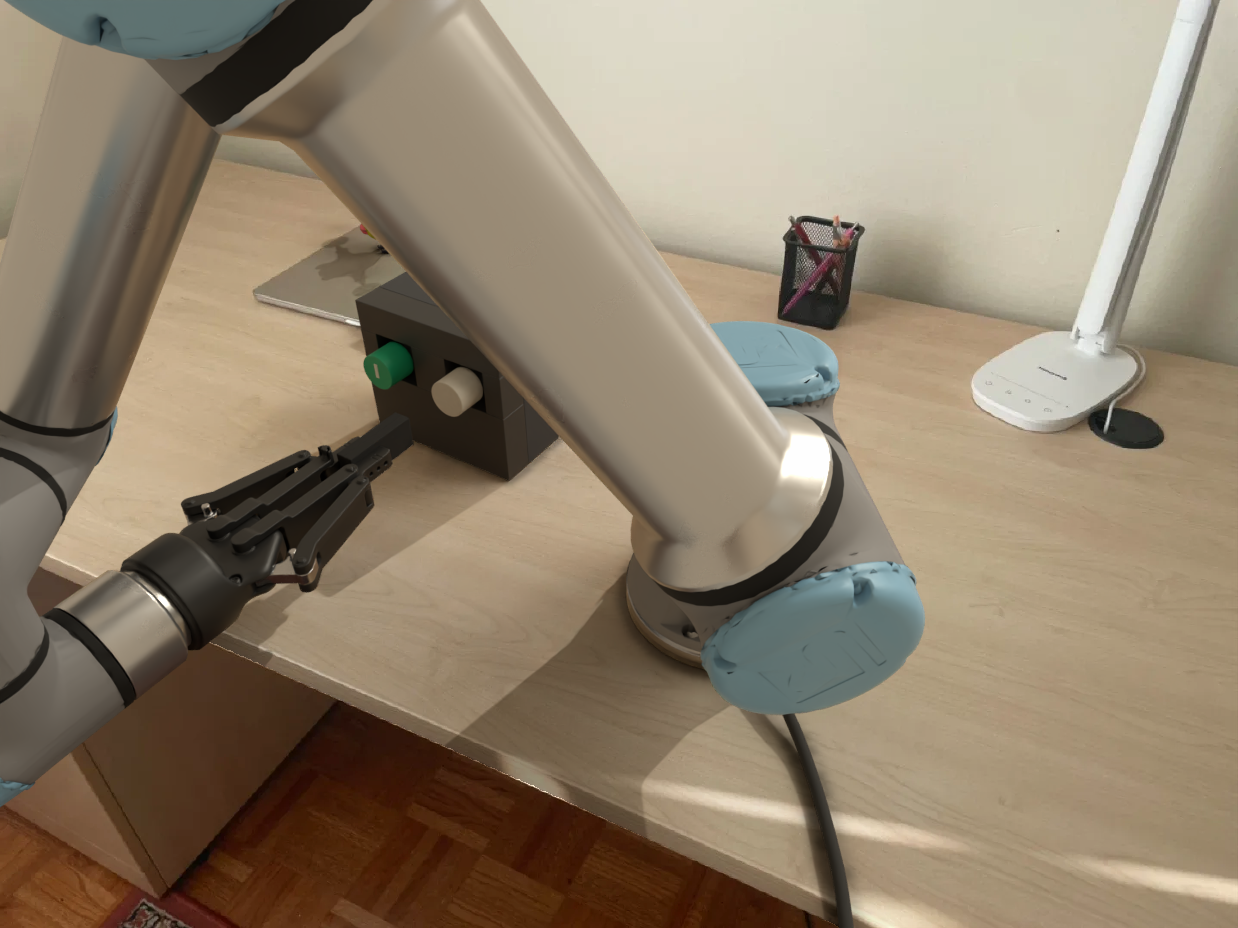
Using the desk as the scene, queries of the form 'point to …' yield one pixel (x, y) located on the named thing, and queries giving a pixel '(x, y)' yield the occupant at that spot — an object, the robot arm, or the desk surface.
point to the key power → (388, 365)
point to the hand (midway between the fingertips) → (404, 428)
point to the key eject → (457, 391)
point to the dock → (483, 434)
